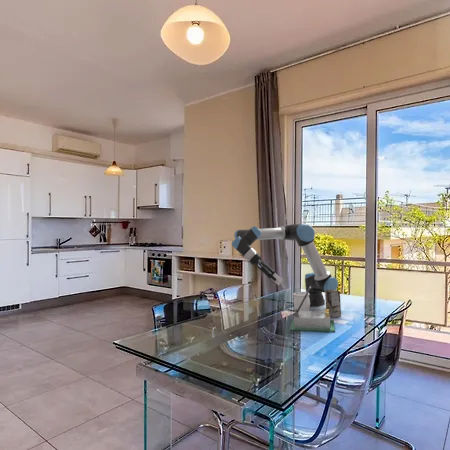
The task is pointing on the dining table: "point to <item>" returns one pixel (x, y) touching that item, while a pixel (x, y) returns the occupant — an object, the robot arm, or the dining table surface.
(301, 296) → the jar
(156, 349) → the dining table surface
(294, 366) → the dining table surface
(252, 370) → the dining table surface
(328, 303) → the coffee box
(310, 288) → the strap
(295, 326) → the heat sink
